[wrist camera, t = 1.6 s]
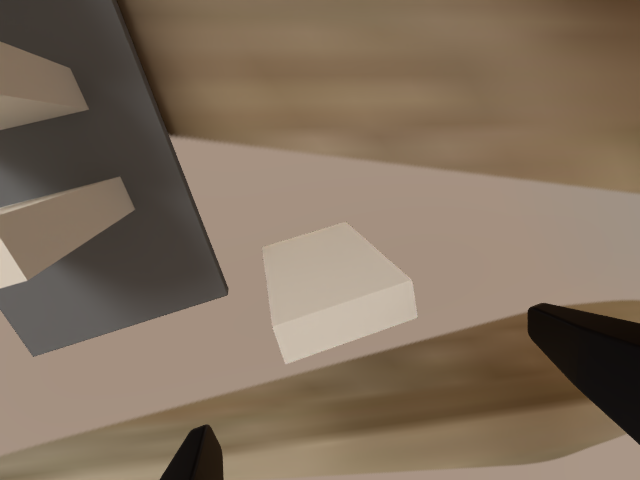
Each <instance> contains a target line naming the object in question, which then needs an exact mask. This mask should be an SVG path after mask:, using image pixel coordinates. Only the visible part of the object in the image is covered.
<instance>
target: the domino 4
mask: <svg viewBox="0 0 640 480" xmlns="http://www.w3.org/2000/svg"><path fill="white" fill-rule="evenodd" d="M134 210H135V208H134V206H133V203H132V201H131V199H130V197H129V195H128V193H127V190H126V188H125V186H124V184H123V182H122V180H121V177H116V178H112V179H108V180H104V181H101V182H97V183H93V184H89V185H85V186H81V187H77V188H74V189H70V190H66V191H62V192H58V193H54V194H50V195H47V196H43V197H39V198H35V199H31V200H27V201H24V202H20V203H16V204H12V205H8V206H4V207H1V208H0V288H4V287H7V286H11V285H14V284H18V283H21V282H25V281H28V280H29V279H31V278H32V277H34V276H35V275H37V274H38V273H40V272H41V271H43V270H44V269H46V268H47V267H49V266H50V265H52V264H53V263H55V262H57V261H58V260H60V259H61V258H63V257H64V256H66V255H67V254H69V253H70V252H72V251H73V250H75V249H76V248H78V247H79V246H81V245H82V244H84V243H85V242H87V241H88V240H90V239H91V238H93V237H94V236H96V235H97V234H99V233H100V232H102V231H103V230H105V229H107V228H108V227H110V226H111V225H113V224H114V223H116V222H117V221H119V220H120V219H122V218H123V217H125V216H126V215H128V214H129V213H131V212H132V211H134Z"/></svg>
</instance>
